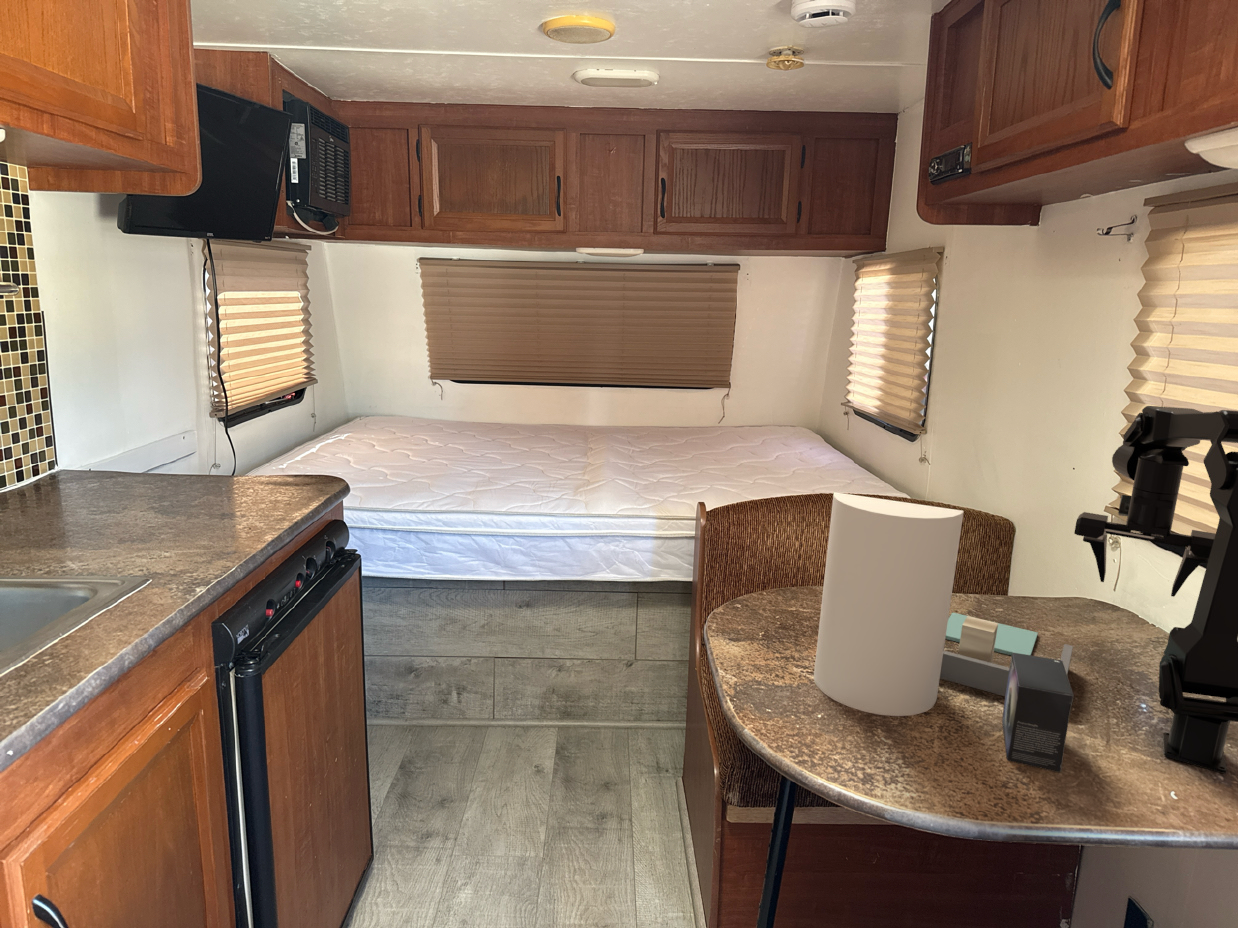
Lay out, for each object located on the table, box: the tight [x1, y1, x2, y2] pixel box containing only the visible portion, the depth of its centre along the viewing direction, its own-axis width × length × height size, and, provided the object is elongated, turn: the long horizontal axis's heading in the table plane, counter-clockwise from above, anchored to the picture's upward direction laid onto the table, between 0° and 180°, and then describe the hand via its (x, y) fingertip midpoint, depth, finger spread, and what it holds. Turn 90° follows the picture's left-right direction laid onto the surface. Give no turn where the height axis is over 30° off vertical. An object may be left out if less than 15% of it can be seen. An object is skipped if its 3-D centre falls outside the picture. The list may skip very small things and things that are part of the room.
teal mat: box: [945, 611, 1039, 657], centre depth 138 cm, size 12×14×1 cm
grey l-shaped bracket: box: [940, 643, 1074, 697], centre depth 126 cm, size 16×25×4 cm, turn 57°
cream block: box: [957, 615, 999, 663], centre depth 126 cm, size 4×4×7 cm
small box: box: [1001, 653, 1075, 773], centre depth 103 cm, size 11×6×10 cm, turn 159°
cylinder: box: [813, 491, 965, 717], centre depth 115 cm, size 17×17×28 cm
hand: (1136, 588), depth 124 cm, fingers open, 9 cm apart
